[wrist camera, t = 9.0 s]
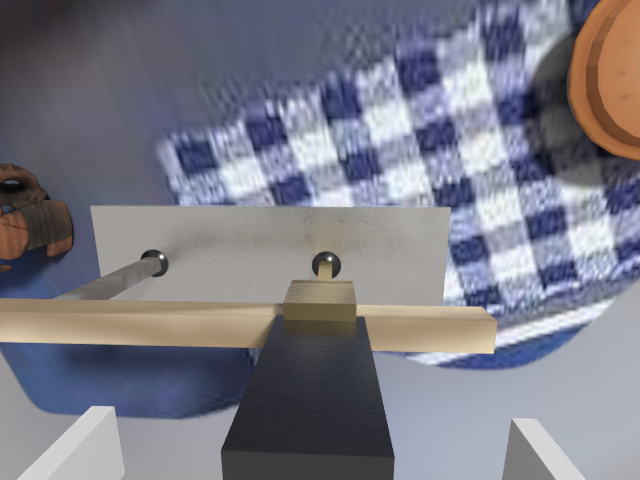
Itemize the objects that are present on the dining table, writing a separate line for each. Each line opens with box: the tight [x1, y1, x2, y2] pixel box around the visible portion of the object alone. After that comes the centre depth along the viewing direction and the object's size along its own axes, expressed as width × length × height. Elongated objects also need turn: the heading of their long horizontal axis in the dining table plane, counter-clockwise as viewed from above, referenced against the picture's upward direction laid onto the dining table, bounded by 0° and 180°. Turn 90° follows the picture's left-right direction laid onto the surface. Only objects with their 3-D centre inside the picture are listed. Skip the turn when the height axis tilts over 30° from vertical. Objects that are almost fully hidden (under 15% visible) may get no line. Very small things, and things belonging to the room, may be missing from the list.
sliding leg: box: [221, 261, 395, 480], centre depth 20 cm, size 5×5×23 cm
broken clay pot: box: [0, 163, 73, 272], centre depth 32 cm, size 12×10×8 cm
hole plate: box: [90, 204, 451, 306], centre depth 33 cm, size 12×36×2 cm, turn 90°
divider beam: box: [0, 257, 498, 354], centre depth 25 cm, size 2×32×14 cm, turn 90°
